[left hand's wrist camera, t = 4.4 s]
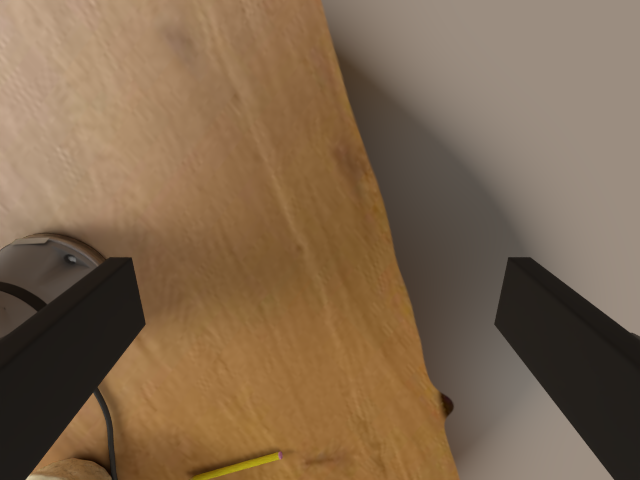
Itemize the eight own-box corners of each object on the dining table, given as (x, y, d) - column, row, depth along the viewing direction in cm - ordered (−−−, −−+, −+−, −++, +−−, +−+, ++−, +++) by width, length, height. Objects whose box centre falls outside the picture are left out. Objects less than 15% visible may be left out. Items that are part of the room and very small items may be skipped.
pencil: (280, 449, 56) (279, 455, 55) (282, 454, 56) (282, 460, 55) (186, 476, 58) (183, 482, 57) (189, 480, 58) (186, 486, 57)
